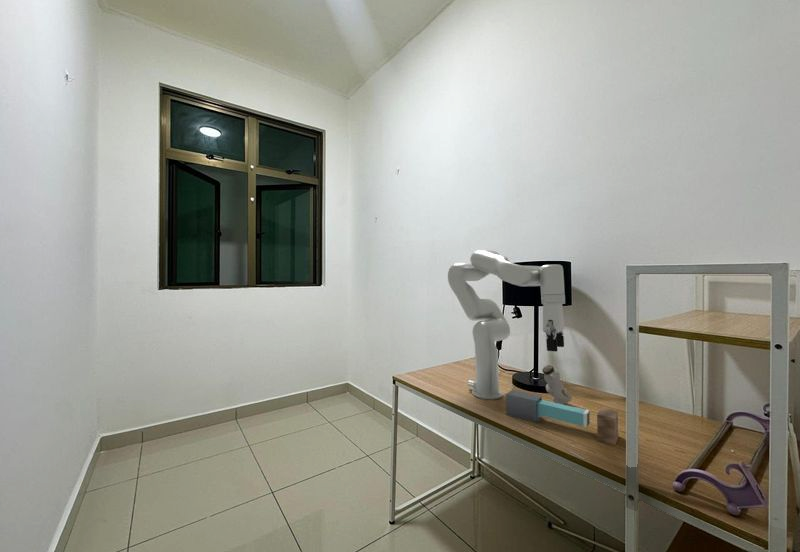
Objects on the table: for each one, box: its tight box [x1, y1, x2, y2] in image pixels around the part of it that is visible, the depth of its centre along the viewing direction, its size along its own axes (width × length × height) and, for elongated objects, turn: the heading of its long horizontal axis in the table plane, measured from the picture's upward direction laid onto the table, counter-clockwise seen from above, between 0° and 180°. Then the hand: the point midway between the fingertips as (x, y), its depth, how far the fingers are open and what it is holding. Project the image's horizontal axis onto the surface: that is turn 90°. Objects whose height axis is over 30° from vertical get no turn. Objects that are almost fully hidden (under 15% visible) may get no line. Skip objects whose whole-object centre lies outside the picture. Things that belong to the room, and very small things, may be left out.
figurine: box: [542, 365, 573, 405], centre depth 126 cm, size 9×10×15 cm
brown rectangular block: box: [596, 407, 619, 446], centre depth 99 cm, size 4×7×8 cm, turn 140°
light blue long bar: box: [537, 399, 591, 428], centre depth 110 cm, size 24×4×4 cm, turn 50°
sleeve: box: [505, 389, 543, 424], centre depth 115 cm, size 11×6×8 cm, turn 50°
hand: (555, 348), depth 112 cm, fingers open, 9 cm apart
